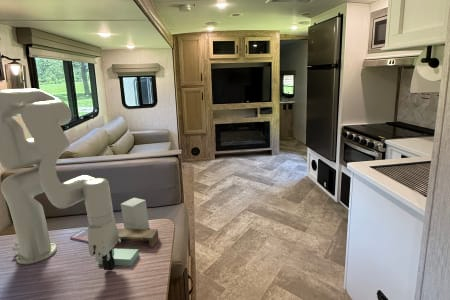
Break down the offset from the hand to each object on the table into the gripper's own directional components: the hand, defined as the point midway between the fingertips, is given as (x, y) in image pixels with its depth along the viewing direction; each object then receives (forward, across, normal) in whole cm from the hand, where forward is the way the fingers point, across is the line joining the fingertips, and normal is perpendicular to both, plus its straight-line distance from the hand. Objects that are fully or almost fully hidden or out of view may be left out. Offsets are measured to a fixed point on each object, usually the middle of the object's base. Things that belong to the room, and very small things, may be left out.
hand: (109, 268), depth 97 cm
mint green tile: (+1, -6, 0) cm, 6 cm away
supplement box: (+1, -27, -3) cm, 27 cm away
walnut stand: (+1, -17, 0) cm, 17 cm away
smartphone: (+2, -20, -20) cm, 28 cm away
